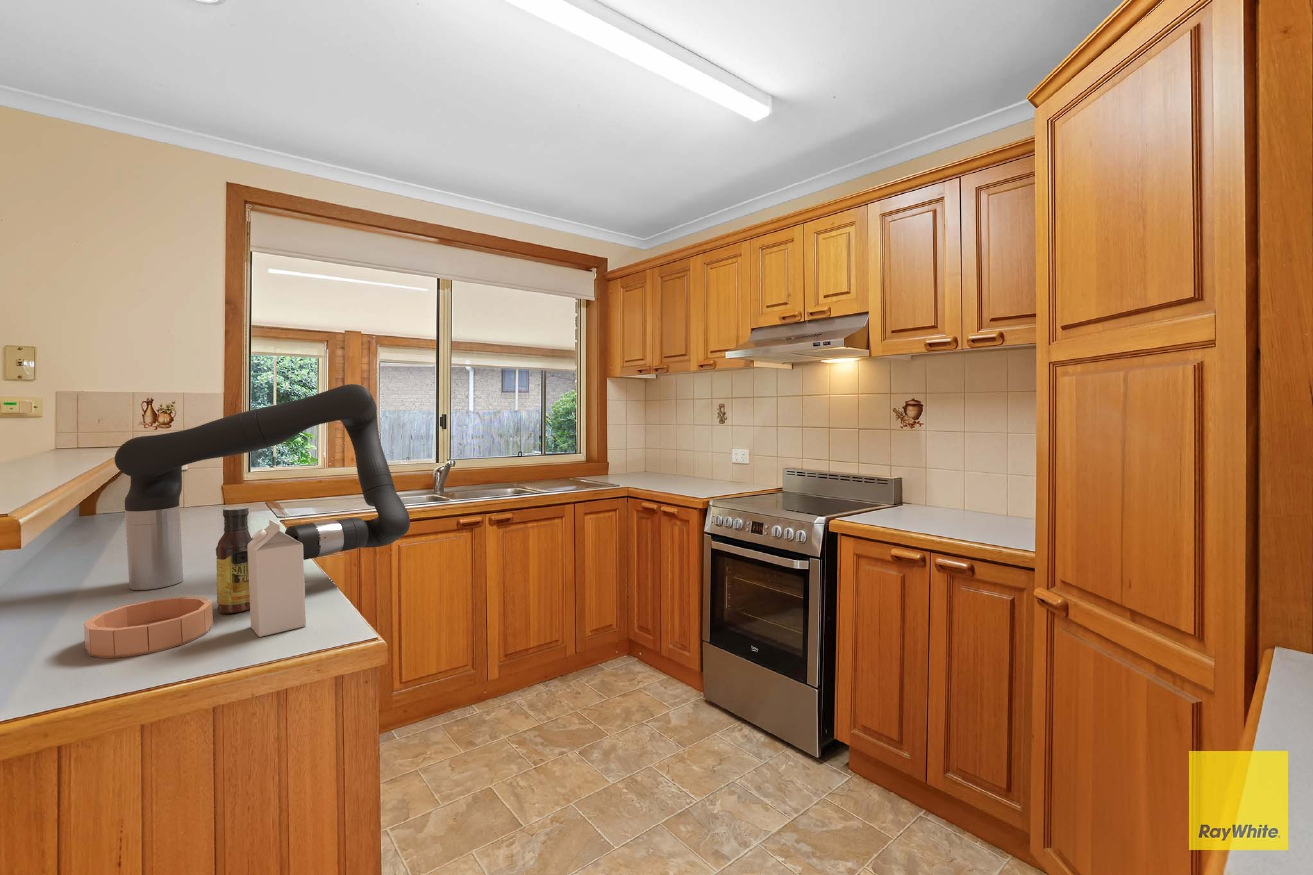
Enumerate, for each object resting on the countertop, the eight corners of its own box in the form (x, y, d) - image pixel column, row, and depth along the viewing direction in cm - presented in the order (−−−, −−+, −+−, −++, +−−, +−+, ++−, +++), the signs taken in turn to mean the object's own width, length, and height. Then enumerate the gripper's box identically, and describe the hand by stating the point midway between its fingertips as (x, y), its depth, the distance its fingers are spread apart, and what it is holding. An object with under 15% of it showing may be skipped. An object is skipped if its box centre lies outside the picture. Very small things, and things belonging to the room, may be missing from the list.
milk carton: (296, 617, 110) (292, 516, 109) (306, 627, 105) (302, 521, 104) (250, 627, 105) (245, 521, 104) (259, 638, 100) (254, 527, 99)
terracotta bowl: (78, 641, 99) (76, 615, 98) (195, 614, 111) (194, 591, 111) (99, 667, 89) (97, 637, 89) (224, 634, 102) (223, 608, 101)
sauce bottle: (236, 616, 110) (231, 511, 109) (209, 614, 112) (204, 510, 111) (266, 604, 117) (261, 505, 116) (239, 602, 118) (235, 505, 117)
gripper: (299, 518, 129) (210, 531, 116) (329, 526, 121) (236, 541, 108) (301, 552, 130) (212, 568, 117) (330, 562, 121) (238, 581, 108)
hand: (224, 555), depth 112 cm, fingers open, 8 cm apart
